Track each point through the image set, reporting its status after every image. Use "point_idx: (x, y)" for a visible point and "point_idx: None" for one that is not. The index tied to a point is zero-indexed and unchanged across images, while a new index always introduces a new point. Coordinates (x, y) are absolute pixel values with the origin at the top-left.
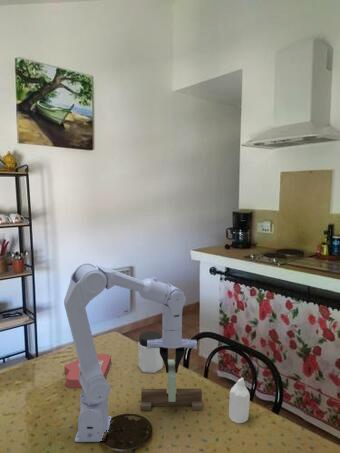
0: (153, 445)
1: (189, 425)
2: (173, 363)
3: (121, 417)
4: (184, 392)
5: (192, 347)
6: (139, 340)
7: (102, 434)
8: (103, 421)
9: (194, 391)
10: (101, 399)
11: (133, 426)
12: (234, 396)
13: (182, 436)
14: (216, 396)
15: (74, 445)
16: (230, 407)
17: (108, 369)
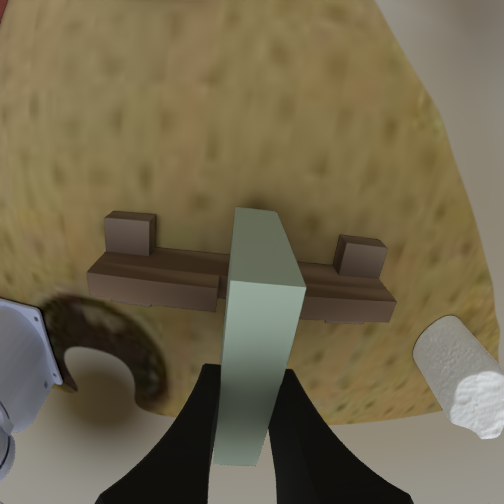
0: (175, 412)
1: None
2: (276, 357)
3: (65, 310)
4: (309, 317)
5: None
6: None
7: (49, 386)
8: (34, 391)
9: (357, 321)
10: (8, 445)
11: (109, 352)
12: (447, 415)
13: None
14: (437, 236)
15: None
16: (428, 375)
17: (2, 7)
